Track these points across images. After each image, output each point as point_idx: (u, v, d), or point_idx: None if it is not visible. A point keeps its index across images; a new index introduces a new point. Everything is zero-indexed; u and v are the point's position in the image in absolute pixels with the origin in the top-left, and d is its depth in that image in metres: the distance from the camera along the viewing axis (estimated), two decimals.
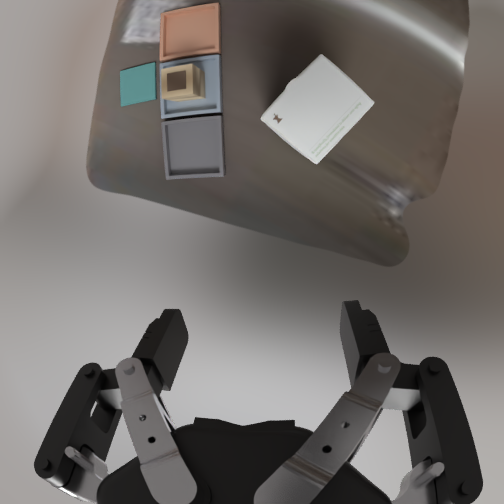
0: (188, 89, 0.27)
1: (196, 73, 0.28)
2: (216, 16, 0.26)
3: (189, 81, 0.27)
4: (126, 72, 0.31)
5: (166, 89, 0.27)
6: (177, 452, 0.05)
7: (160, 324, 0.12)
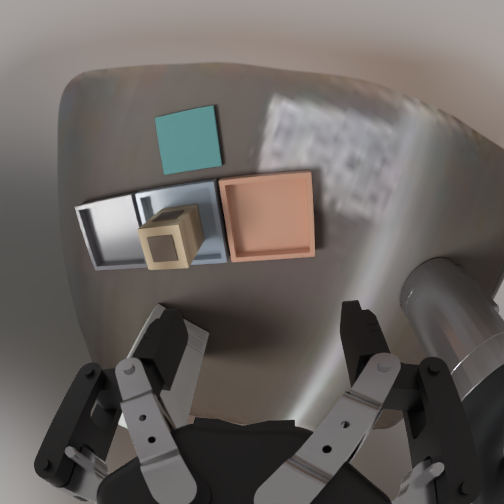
0: (153, 264, 0.24)
1: None
2: (289, 255, 0.28)
3: (163, 265, 0.24)
4: (208, 118, 0.23)
5: (149, 235, 0.22)
6: (177, 452, 0.05)
7: (160, 324, 0.12)
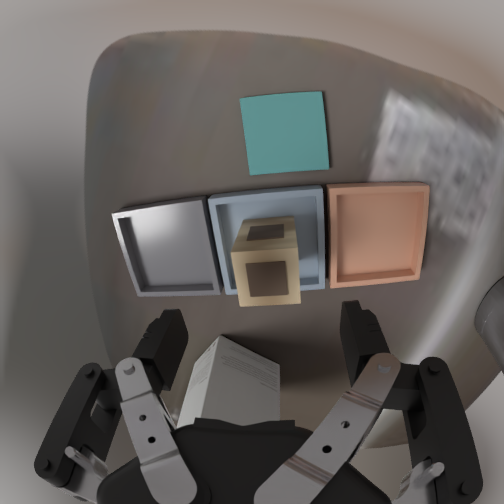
0: (248, 299, 0.18)
1: None
2: (394, 279, 0.22)
3: (264, 301, 0.18)
4: (315, 106, 0.18)
5: (250, 261, 0.17)
6: (177, 452, 0.05)
7: (160, 324, 0.12)
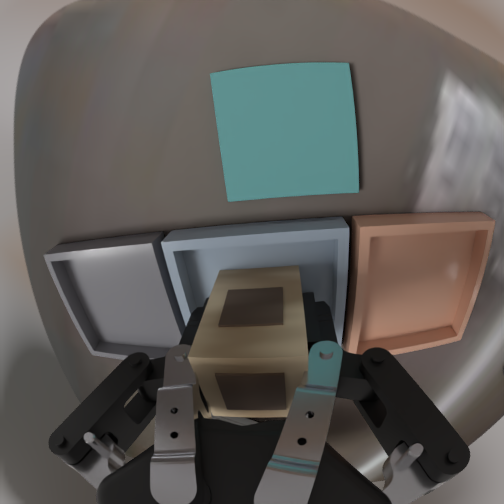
0: (225, 410, 0.10)
1: None
2: (432, 344, 0.14)
3: (249, 413, 0.10)
4: (338, 87, 0.10)
5: (222, 371, 0.09)
6: (192, 455, 0.05)
7: None
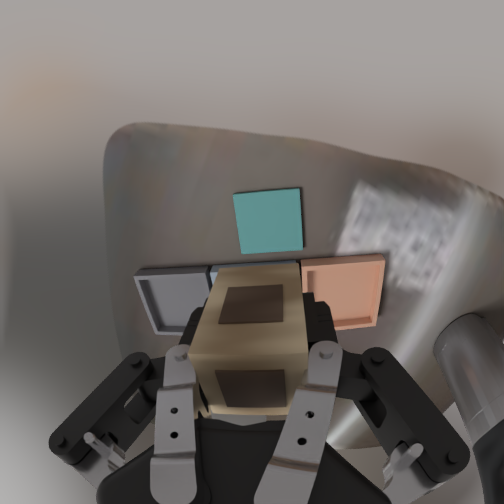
0: (225, 408, 0.10)
1: None
2: (354, 326, 0.29)
3: (249, 410, 0.10)
4: (293, 202, 0.25)
5: (222, 368, 0.09)
6: (192, 455, 0.05)
7: None
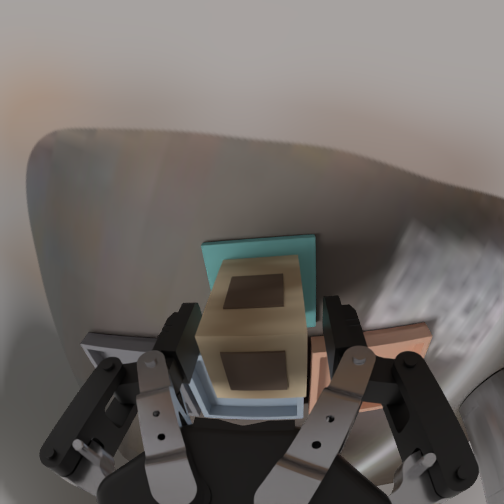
0: (229, 391, 0.11)
1: None
2: (376, 407, 0.19)
3: (252, 394, 0.11)
4: (304, 258, 0.14)
5: (227, 349, 0.10)
6: (184, 453, 0.05)
7: (180, 317, 0.12)
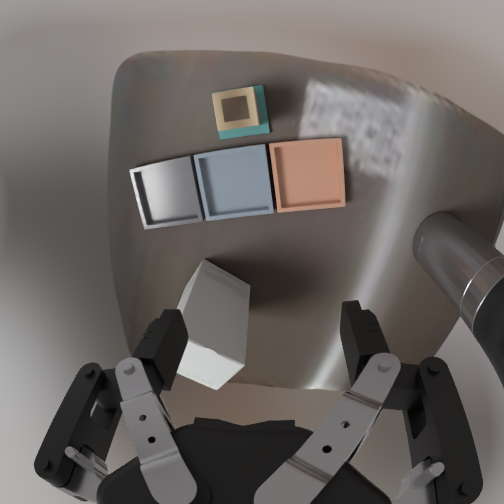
0: (223, 125, 0.25)
1: None
2: (325, 206, 0.33)
3: (234, 125, 0.25)
4: (259, 94, 0.28)
5: (223, 97, 0.23)
6: (177, 452, 0.05)
7: (160, 324, 0.12)
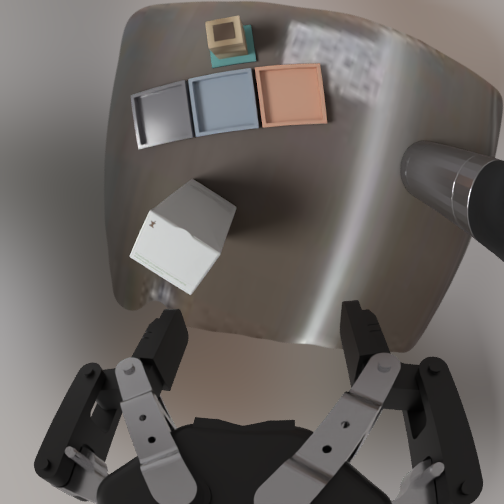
0: (213, 43, 0.25)
1: (236, 47, 0.26)
2: (307, 122, 0.32)
3: (222, 43, 0.24)
4: (247, 32, 0.28)
5: (215, 24, 0.23)
6: (177, 452, 0.05)
7: (160, 324, 0.12)
